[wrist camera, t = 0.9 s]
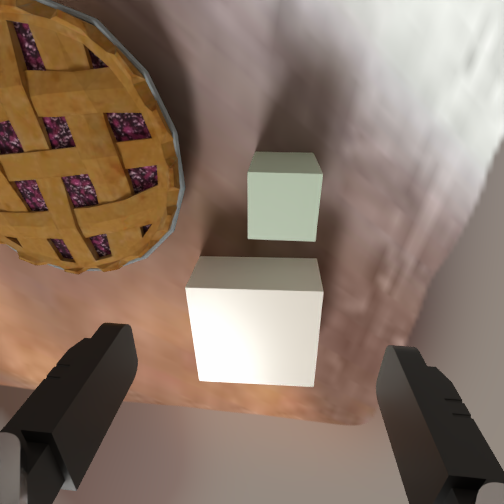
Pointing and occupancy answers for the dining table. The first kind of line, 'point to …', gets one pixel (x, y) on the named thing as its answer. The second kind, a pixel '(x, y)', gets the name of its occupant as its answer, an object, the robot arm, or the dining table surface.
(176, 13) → the dining table surface
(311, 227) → the sage block
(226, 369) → the base box
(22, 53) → the pie
